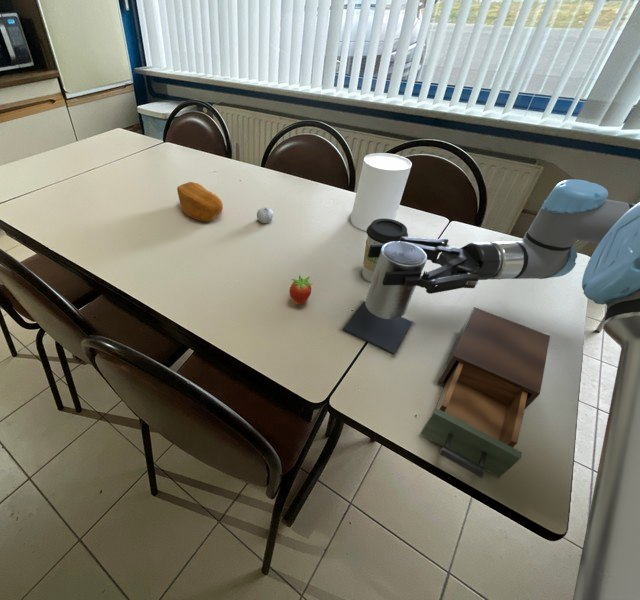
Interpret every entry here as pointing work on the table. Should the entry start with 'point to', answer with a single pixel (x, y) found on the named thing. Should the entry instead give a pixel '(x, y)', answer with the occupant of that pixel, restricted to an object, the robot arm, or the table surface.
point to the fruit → (300, 290)
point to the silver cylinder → (393, 297)
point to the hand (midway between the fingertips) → (376, 264)
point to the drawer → (478, 421)
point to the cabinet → (500, 351)
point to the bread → (199, 202)
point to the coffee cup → (380, 241)
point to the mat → (377, 329)
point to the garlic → (265, 215)
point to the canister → (379, 188)
